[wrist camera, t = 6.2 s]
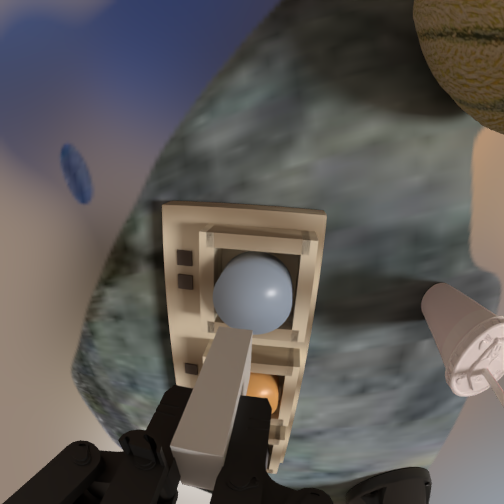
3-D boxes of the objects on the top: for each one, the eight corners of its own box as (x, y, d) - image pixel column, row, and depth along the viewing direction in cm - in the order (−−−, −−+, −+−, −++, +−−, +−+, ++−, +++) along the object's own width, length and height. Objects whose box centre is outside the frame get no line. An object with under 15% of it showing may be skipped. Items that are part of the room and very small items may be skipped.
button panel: (283, 450, 31) (281, 478, 27) (191, 437, 33) (182, 463, 28) (323, 210, 22) (331, 223, 18) (172, 200, 23) (147, 210, 19)
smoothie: (398, 328, 24) (453, 446, 11) (420, 263, 22) (512, 361, 9) (450, 332, 24) (515, 431, 11) (473, 273, 22) (565, 356, 9)
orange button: (276, 403, 25) (274, 422, 23) (223, 397, 26) (218, 415, 23) (282, 364, 24) (280, 384, 21) (223, 357, 24) (216, 376, 22)
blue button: (288, 319, 21) (287, 338, 19) (220, 312, 22) (213, 329, 19) (295, 253, 20) (296, 267, 17) (221, 247, 20) (212, 259, 18)
